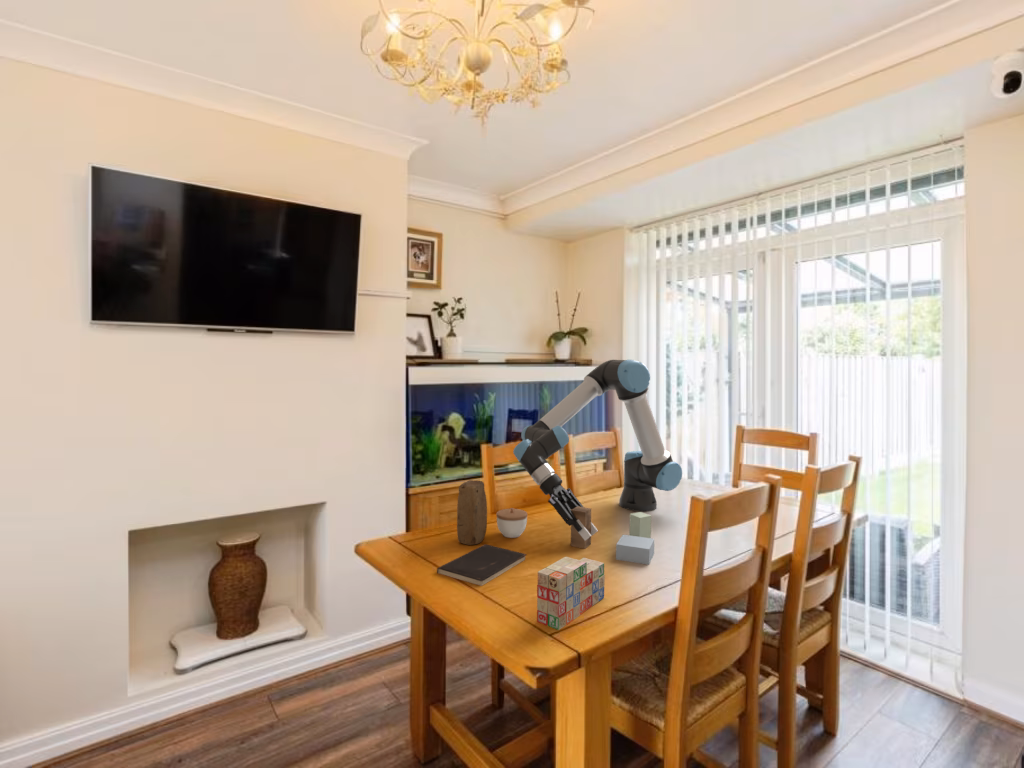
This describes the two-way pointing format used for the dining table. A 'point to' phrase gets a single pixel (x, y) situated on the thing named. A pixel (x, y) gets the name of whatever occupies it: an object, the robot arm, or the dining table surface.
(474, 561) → the hardcover book
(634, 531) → the sage block
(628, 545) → the slate base block
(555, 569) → the stack of blocks
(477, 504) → the block
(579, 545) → the walnut block
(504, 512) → the lidded jar
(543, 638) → the dining table surface
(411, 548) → the dining table surface
